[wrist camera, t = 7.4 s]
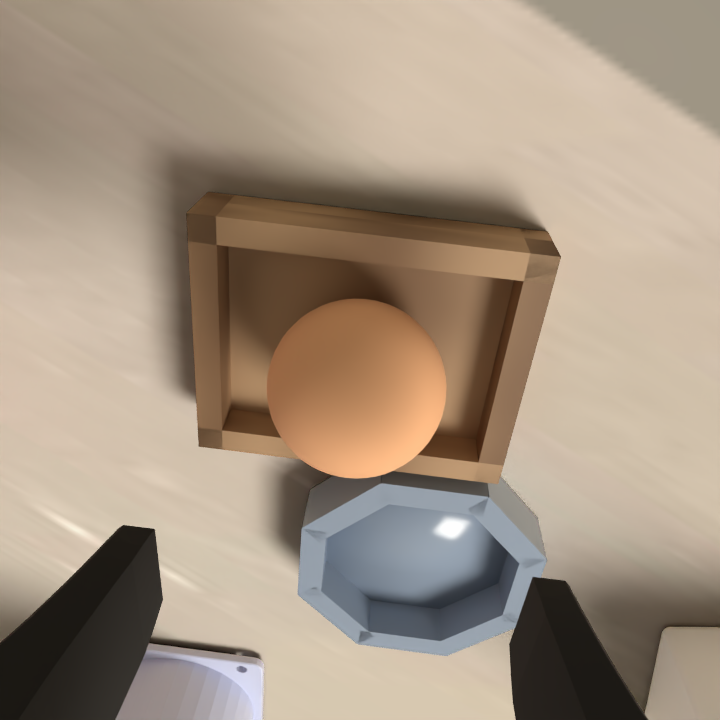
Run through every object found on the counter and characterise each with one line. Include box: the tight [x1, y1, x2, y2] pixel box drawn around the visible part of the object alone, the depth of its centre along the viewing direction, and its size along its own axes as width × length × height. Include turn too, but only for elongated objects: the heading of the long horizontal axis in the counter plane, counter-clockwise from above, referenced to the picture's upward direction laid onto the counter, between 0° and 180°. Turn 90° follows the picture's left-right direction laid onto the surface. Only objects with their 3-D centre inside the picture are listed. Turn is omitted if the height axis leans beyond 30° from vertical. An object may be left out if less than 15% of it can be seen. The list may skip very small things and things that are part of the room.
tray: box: [186, 192, 561, 484], centre depth 19 cm, size 10×8×2 cm
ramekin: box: [298, 471, 547, 656], centre depth 24 cm, size 9×9×2 cm
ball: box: [267, 299, 447, 478], centre depth 18 cm, size 5×5×5 cm
